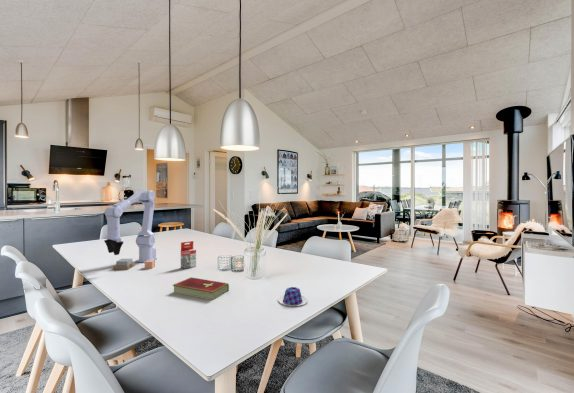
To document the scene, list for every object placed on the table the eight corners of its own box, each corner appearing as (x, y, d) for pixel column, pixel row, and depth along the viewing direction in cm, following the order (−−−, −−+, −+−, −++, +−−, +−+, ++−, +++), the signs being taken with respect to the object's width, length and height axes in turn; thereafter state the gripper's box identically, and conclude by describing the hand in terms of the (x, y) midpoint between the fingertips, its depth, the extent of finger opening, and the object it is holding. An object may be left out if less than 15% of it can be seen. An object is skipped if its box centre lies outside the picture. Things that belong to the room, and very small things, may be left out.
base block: (121, 266, 165) (120, 262, 164) (135, 266, 165) (135, 262, 165) (113, 270, 157) (113, 266, 156) (127, 270, 157) (127, 266, 157)
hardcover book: (191, 285, 135) (191, 276, 135) (228, 291, 127) (228, 282, 127) (172, 293, 124) (172, 284, 123) (212, 301, 116) (212, 291, 116)
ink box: (196, 266, 165) (196, 241, 164) (183, 269, 159) (183, 243, 159) (193, 265, 167) (193, 240, 167) (180, 267, 162) (180, 242, 161)
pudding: (290, 294, 124) (290, 282, 124) (313, 301, 117) (313, 288, 117) (272, 302, 115) (272, 289, 115) (295, 310, 108) (295, 297, 107)
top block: (121, 263, 163) (121, 258, 163) (132, 262, 164) (132, 258, 164) (116, 265, 157) (116, 261, 157) (127, 265, 158) (127, 261, 158)
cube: (147, 266, 163) (147, 260, 163) (154, 266, 163) (154, 260, 163) (144, 268, 159) (144, 261, 159) (151, 268, 159) (151, 261, 159)
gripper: (100, 228, 154) (100, 252, 154) (110, 230, 145) (110, 257, 145) (114, 226, 159) (114, 250, 160) (125, 229, 150) (125, 254, 151)
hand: (113, 253), depth 153 cm, fingers open, 7 cm apart
